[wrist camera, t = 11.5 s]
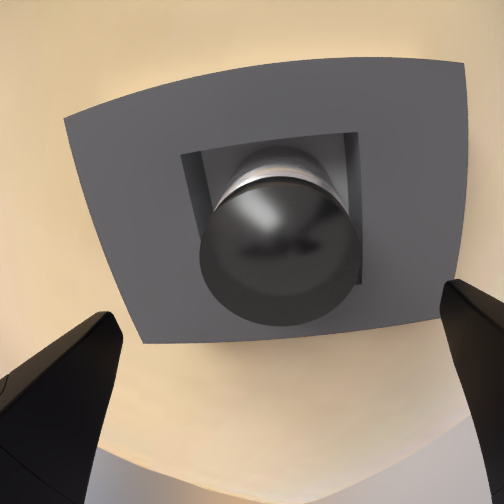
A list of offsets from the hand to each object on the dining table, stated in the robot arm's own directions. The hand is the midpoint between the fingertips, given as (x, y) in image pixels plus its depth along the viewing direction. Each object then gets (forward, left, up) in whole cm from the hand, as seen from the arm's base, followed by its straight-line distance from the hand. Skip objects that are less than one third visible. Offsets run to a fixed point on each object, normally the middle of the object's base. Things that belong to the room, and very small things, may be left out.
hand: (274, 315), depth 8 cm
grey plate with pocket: (0, 0, -10) cm, 10 cm away
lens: (0, 0, -8) cm, 8 cm away
